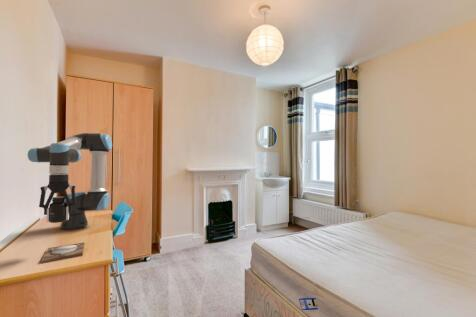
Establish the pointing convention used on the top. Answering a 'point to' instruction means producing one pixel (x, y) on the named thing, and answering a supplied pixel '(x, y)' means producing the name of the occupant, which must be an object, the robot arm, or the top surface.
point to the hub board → (63, 252)
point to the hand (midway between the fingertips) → (58, 220)
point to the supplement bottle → (57, 210)
